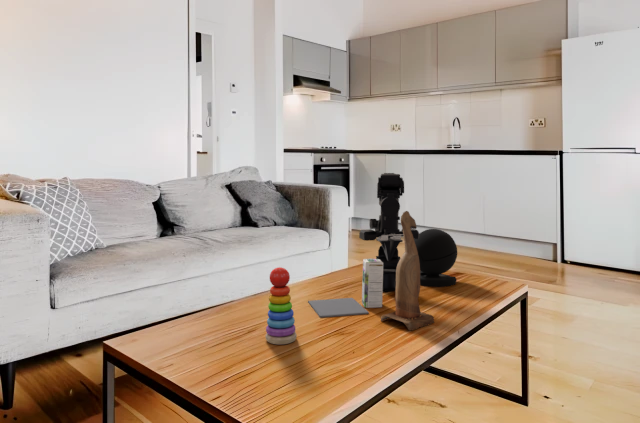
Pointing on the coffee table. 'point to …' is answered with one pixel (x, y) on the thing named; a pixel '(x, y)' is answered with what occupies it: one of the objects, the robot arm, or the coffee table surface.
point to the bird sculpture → (408, 282)
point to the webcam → (436, 257)
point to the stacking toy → (280, 310)
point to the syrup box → (372, 283)
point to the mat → (337, 307)
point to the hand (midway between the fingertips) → (388, 260)
